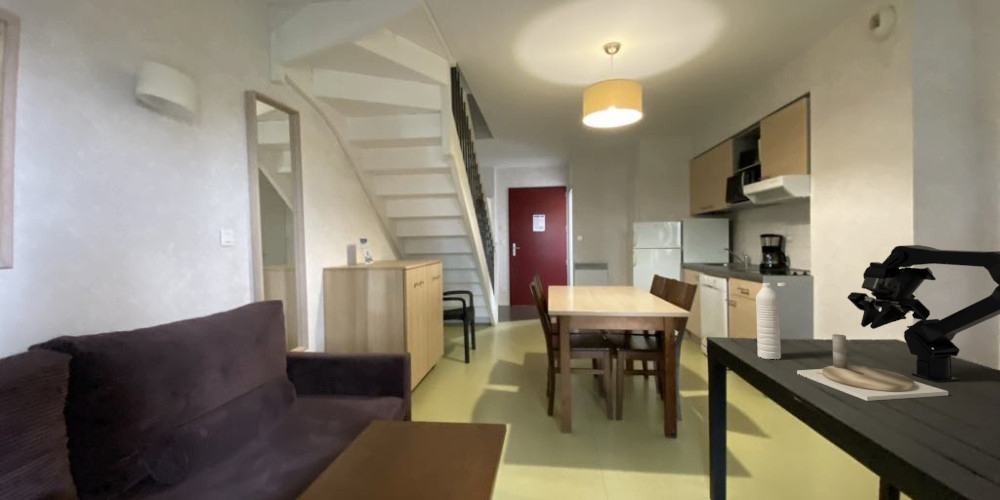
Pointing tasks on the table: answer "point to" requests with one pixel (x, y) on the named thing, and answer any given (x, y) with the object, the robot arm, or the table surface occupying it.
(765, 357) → the water bottle
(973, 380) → the table surface
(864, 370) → the dial
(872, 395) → the base
